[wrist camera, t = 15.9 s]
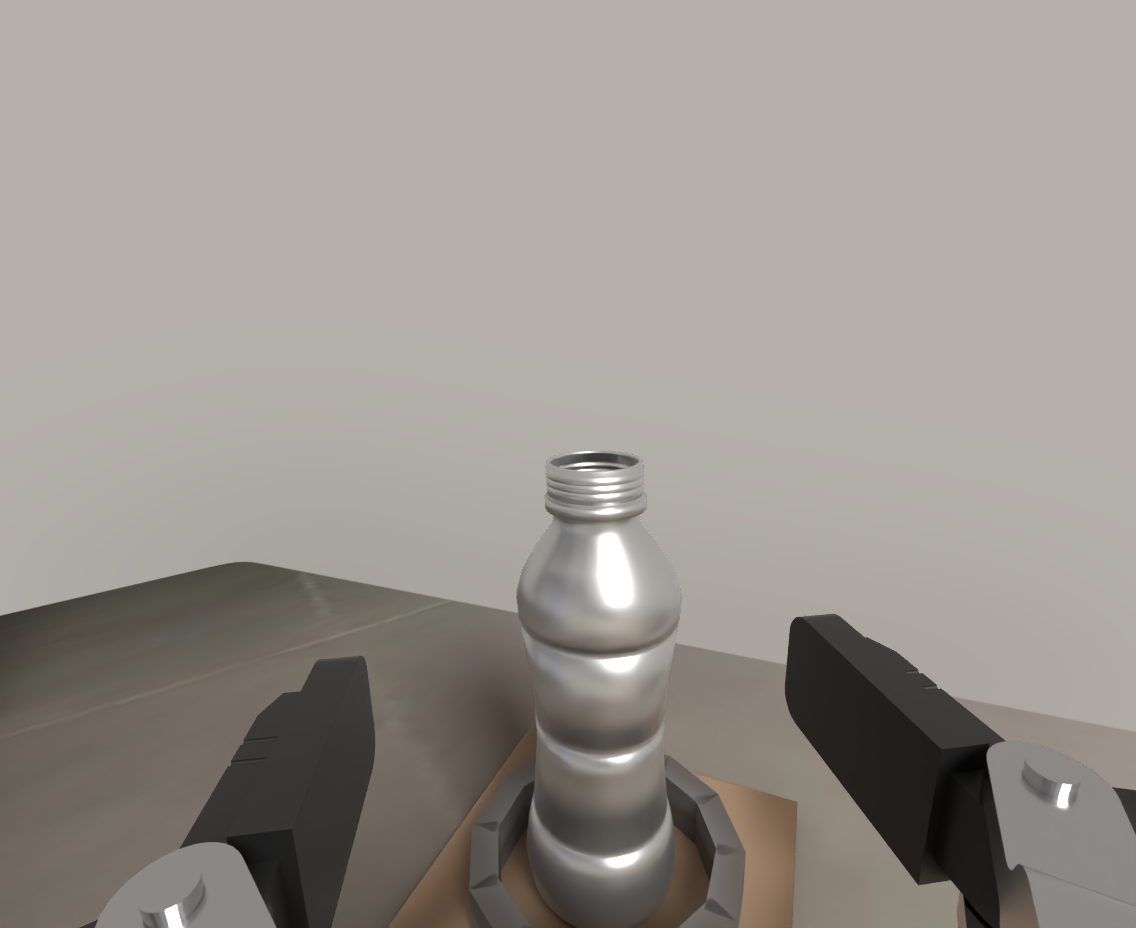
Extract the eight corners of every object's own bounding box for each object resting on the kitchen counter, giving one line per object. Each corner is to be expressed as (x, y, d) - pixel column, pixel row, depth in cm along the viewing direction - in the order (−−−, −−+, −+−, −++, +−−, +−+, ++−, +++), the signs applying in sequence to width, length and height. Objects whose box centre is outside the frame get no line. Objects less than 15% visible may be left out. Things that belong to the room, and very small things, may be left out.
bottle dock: (345, 1010, 22) (334, 940, 21) (529, 741, 37) (527, 693, 36) (777, 1259, 16) (784, 1174, 15) (796, 817, 30) (800, 762, 29)
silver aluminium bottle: (580, 804, 30) (569, 438, 26) (699, 870, 26) (712, 453, 22) (498, 902, 25) (467, 467, 21) (631, 1000, 21) (629, 494, 17)
